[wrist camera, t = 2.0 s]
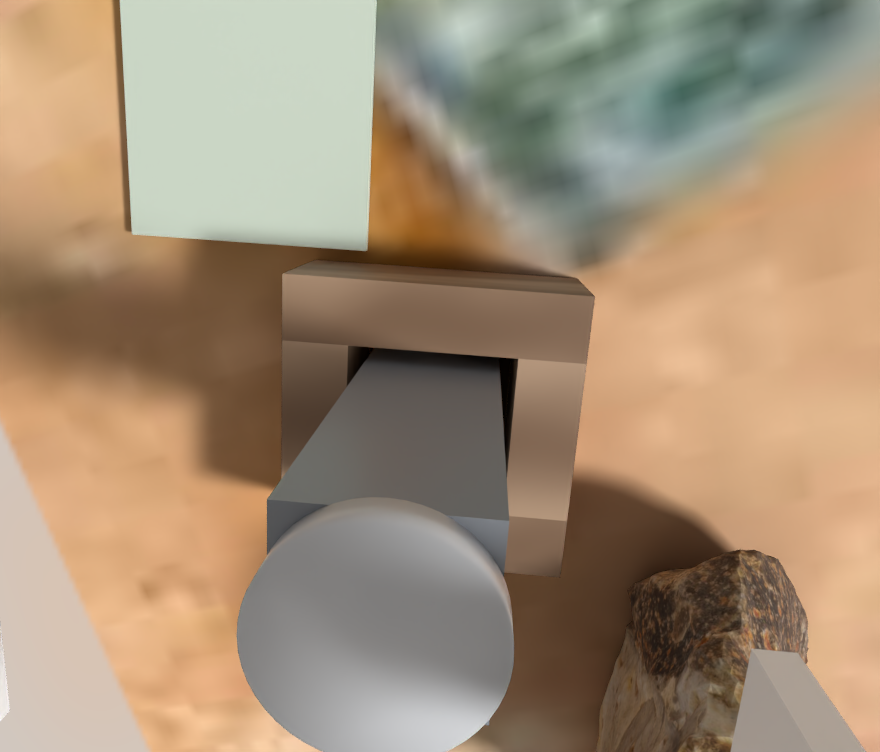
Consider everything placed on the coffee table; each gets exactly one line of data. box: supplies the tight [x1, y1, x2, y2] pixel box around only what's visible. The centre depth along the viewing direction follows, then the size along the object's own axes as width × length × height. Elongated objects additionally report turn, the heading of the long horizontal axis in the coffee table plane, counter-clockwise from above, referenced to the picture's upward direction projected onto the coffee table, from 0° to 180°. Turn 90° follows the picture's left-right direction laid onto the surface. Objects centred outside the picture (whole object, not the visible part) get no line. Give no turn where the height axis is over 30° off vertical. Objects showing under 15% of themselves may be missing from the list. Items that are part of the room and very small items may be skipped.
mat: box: [120, 0, 377, 251], centre depth 25 cm, size 9×9×1 cm
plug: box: [237, 348, 514, 752], centre depth 20 cm, size 5×5×16 cm
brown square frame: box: [281, 260, 595, 578], centre depth 26 cm, size 10×10×4 cm
